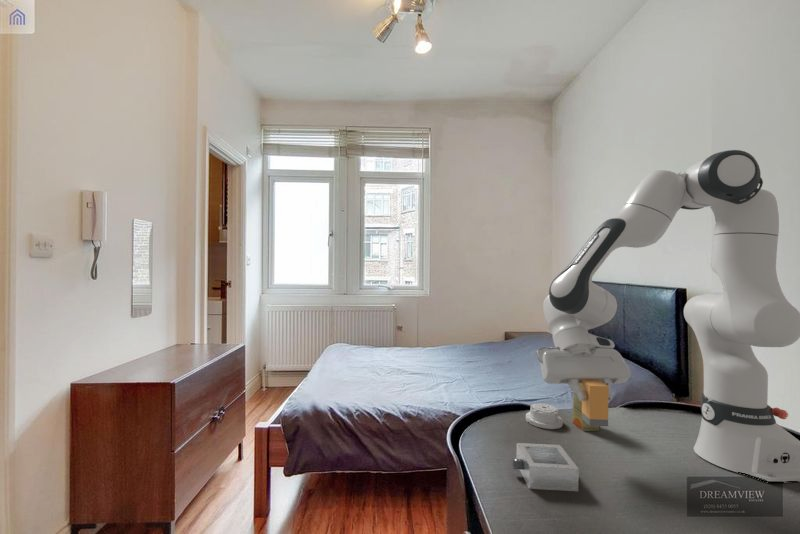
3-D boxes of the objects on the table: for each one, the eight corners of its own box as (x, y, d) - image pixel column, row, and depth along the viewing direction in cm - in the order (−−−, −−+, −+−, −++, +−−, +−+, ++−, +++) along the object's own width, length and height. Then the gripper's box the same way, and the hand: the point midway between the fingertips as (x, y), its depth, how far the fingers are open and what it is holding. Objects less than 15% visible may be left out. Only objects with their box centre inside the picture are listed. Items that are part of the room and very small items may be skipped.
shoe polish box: (572, 422, 104) (573, 381, 104) (589, 422, 104) (590, 381, 104) (582, 430, 99) (583, 387, 99) (599, 430, 99) (600, 387, 99)
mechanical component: (527, 427, 100) (566, 432, 98) (528, 411, 100) (566, 416, 98) (523, 413, 110) (558, 417, 108) (524, 399, 110) (559, 403, 108)
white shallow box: (559, 464, 81) (560, 444, 81) (578, 491, 71) (578, 468, 71) (507, 462, 82) (507, 442, 82) (518, 488, 72) (519, 465, 72)
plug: (599, 418, 85) (599, 380, 85) (608, 426, 81) (608, 386, 81) (581, 418, 85) (582, 380, 85) (589, 425, 81) (590, 385, 81)
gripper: (538, 340, 89) (556, 393, 80) (619, 340, 90) (646, 393, 80) (530, 353, 94) (547, 405, 84) (608, 354, 94) (632, 405, 85)
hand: (596, 399), depth 82 cm, fingers closed on plug, 4 cm apart
